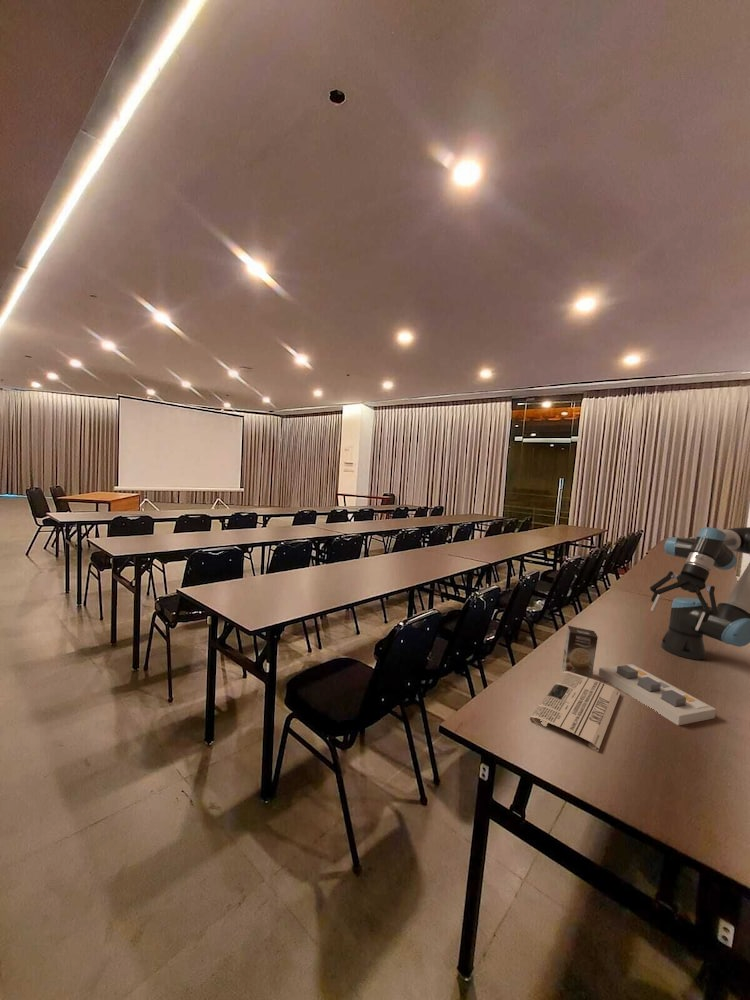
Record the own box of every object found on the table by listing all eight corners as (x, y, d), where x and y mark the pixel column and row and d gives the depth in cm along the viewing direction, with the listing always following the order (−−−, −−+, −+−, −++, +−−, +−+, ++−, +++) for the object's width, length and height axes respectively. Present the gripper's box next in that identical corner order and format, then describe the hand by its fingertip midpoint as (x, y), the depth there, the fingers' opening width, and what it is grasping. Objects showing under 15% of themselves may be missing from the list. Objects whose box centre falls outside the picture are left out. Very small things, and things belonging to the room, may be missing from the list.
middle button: (646, 686, 136) (648, 676, 136) (659, 693, 132) (660, 683, 132) (637, 687, 135) (638, 678, 135) (649, 694, 131) (651, 685, 130)
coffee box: (563, 674, 144) (569, 631, 143) (561, 666, 150) (566, 625, 149) (592, 681, 141) (598, 637, 140) (589, 672, 147) (594, 630, 146)
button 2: (670, 699, 129) (672, 689, 128) (684, 707, 125) (686, 697, 124) (660, 701, 127) (662, 691, 127) (674, 709, 123) (676, 699, 123)
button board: (631, 671, 150) (632, 662, 150) (714, 718, 124) (716, 707, 123) (598, 675, 145) (599, 667, 145) (678, 725, 119) (679, 714, 118)
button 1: (625, 673, 144) (626, 665, 144) (636, 680, 140) (638, 671, 139) (616, 675, 142) (617, 666, 142) (627, 681, 138) (628, 672, 138)
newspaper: (563, 676, 144) (563, 668, 144) (625, 699, 132) (626, 691, 132) (529, 723, 115) (530, 714, 115) (605, 757, 103) (606, 747, 103)
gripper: (657, 551, 152) (633, 601, 150) (742, 579, 135) (717, 636, 132) (658, 557, 157) (635, 605, 155) (740, 585, 140) (716, 640, 138)
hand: (673, 620), depth 144 cm, fingers open, 13 cm apart
